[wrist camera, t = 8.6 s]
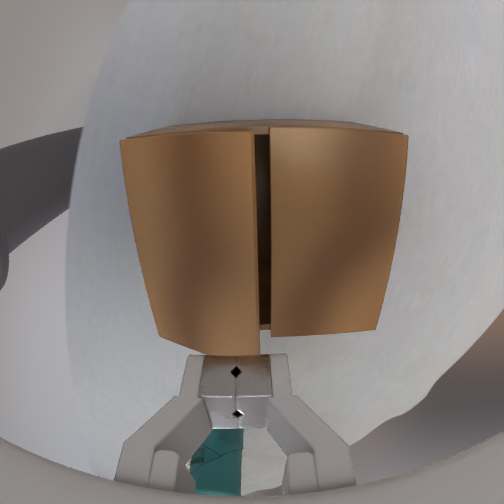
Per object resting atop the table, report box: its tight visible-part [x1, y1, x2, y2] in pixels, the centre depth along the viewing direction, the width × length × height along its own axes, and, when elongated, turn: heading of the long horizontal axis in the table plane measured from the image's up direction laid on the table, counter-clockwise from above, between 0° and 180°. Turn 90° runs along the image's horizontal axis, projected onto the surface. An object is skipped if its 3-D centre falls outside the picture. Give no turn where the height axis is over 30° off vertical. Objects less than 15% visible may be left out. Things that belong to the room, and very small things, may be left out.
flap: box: [120, 131, 260, 356], centre depth 15 cm, size 7×13×1 cm, turn 1°
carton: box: [126, 120, 408, 337], centre depth 21 cm, size 15×13×10 cm
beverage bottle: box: [189, 428, 244, 496], centre depth 30 cm, size 6×7×20 cm
